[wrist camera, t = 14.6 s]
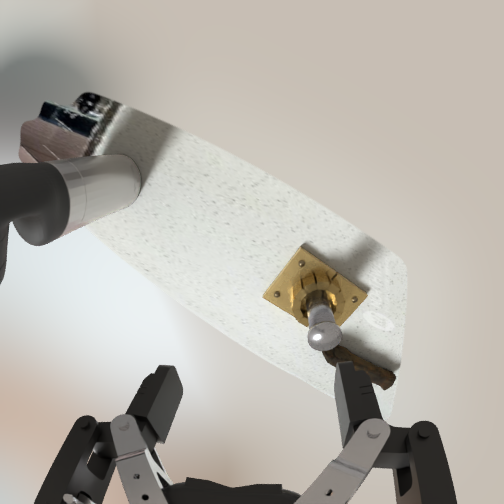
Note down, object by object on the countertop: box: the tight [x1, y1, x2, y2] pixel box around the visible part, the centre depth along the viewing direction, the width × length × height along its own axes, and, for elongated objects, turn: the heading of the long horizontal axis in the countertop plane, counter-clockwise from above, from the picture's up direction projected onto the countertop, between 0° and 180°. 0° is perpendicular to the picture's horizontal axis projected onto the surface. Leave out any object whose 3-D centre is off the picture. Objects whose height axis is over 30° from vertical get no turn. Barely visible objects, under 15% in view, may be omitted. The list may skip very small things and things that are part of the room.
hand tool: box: [322, 345, 396, 390], centre depth 46 cm, size 19×4×5 cm, turn 56°
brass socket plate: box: [263, 246, 368, 327], centre depth 42 cm, size 14×10×4 cm
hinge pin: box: [305, 289, 342, 351], centre depth 38 cm, size 4×4×11 cm
